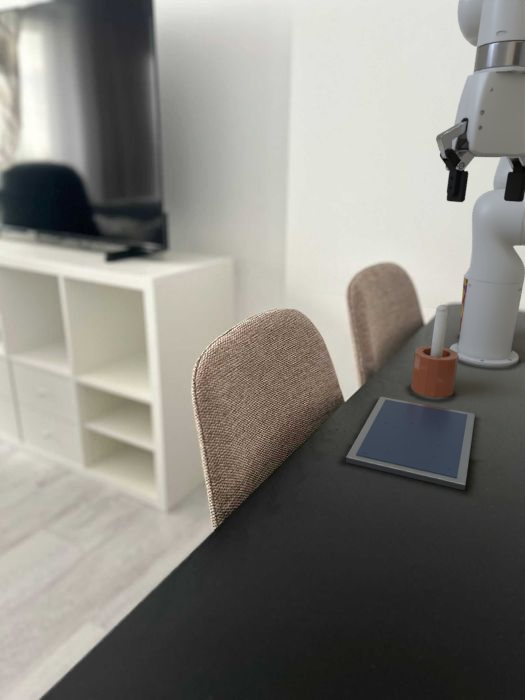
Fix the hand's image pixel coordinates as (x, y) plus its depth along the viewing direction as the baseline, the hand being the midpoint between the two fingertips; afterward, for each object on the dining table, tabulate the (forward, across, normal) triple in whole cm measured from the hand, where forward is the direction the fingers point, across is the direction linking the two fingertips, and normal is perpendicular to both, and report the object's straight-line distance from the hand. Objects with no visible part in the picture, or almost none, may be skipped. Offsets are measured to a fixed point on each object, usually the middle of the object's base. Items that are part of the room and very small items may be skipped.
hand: (484, 201), depth 72 cm
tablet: (+31, +13, +9) cm, 35 cm away
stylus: (+30, +2, -3) cm, 30 cm away
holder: (+31, +2, -3) cm, 31 cm away
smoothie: (+31, -24, -26) cm, 47 cm away
